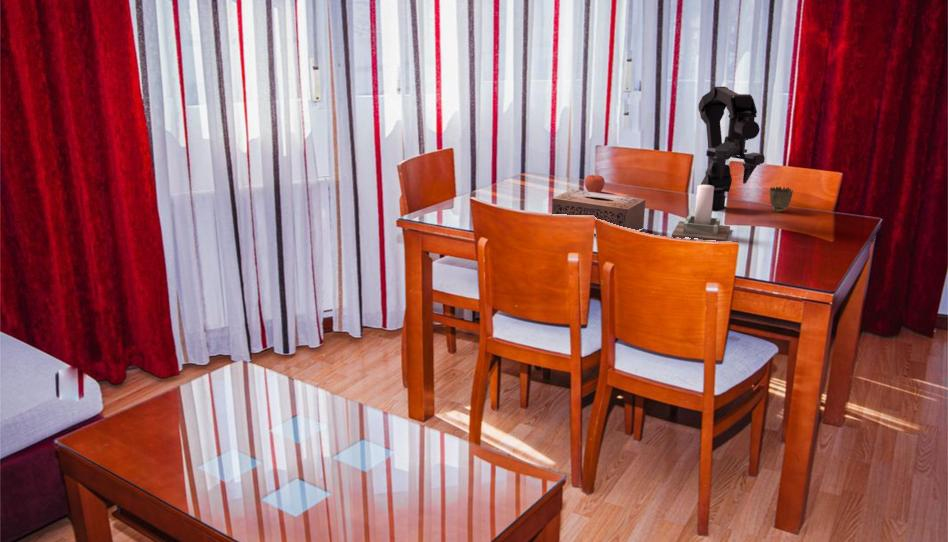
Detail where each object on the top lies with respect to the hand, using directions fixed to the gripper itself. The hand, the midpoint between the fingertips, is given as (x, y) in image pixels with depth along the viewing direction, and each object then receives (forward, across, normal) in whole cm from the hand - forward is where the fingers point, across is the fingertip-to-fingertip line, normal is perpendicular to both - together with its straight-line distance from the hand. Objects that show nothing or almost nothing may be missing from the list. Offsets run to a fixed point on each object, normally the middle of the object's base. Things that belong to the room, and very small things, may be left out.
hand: (732, 181), depth 277 cm
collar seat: (+13, +5, -21) cm, 26 cm away
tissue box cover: (+14, -20, -42) cm, 49 cm away
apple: (+13, -53, -9) cm, 55 cm away
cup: (+13, +5, +22) cm, 26 cm away
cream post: (+12, +5, -21) cm, 25 cm away
